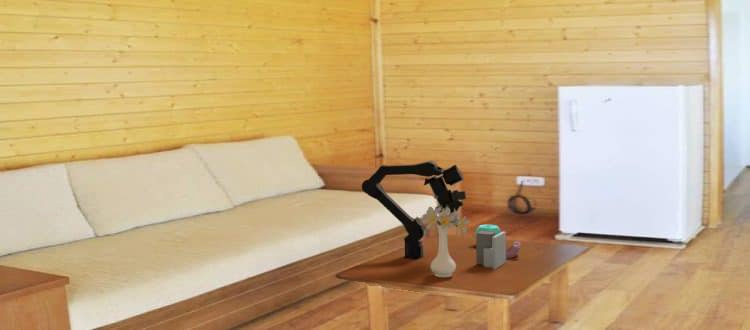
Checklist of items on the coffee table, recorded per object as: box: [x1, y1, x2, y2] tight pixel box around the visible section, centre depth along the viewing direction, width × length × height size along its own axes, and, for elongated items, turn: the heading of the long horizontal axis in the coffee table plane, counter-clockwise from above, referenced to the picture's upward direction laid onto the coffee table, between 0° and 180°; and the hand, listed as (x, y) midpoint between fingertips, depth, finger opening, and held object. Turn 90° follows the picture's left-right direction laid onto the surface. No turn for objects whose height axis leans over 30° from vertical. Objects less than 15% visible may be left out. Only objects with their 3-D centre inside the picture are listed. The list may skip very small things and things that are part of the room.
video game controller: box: [506, 241, 522, 259], centre depth 342 cm, size 10×5×7 cm, turn 169°
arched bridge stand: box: [483, 231, 507, 270], centre depth 327 cm, size 5×12×12 cm, turn 152°
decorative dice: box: [475, 224, 502, 239], centre depth 364 cm, size 8×8×8 cm
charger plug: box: [475, 231, 495, 266], centre depth 328 cm, size 8×5×12 cm, turn 63°
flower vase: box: [421, 206, 471, 278], centre depth 311 cm, size 13×18×25 cm
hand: (457, 226), depth 337 cm, fingers closed
